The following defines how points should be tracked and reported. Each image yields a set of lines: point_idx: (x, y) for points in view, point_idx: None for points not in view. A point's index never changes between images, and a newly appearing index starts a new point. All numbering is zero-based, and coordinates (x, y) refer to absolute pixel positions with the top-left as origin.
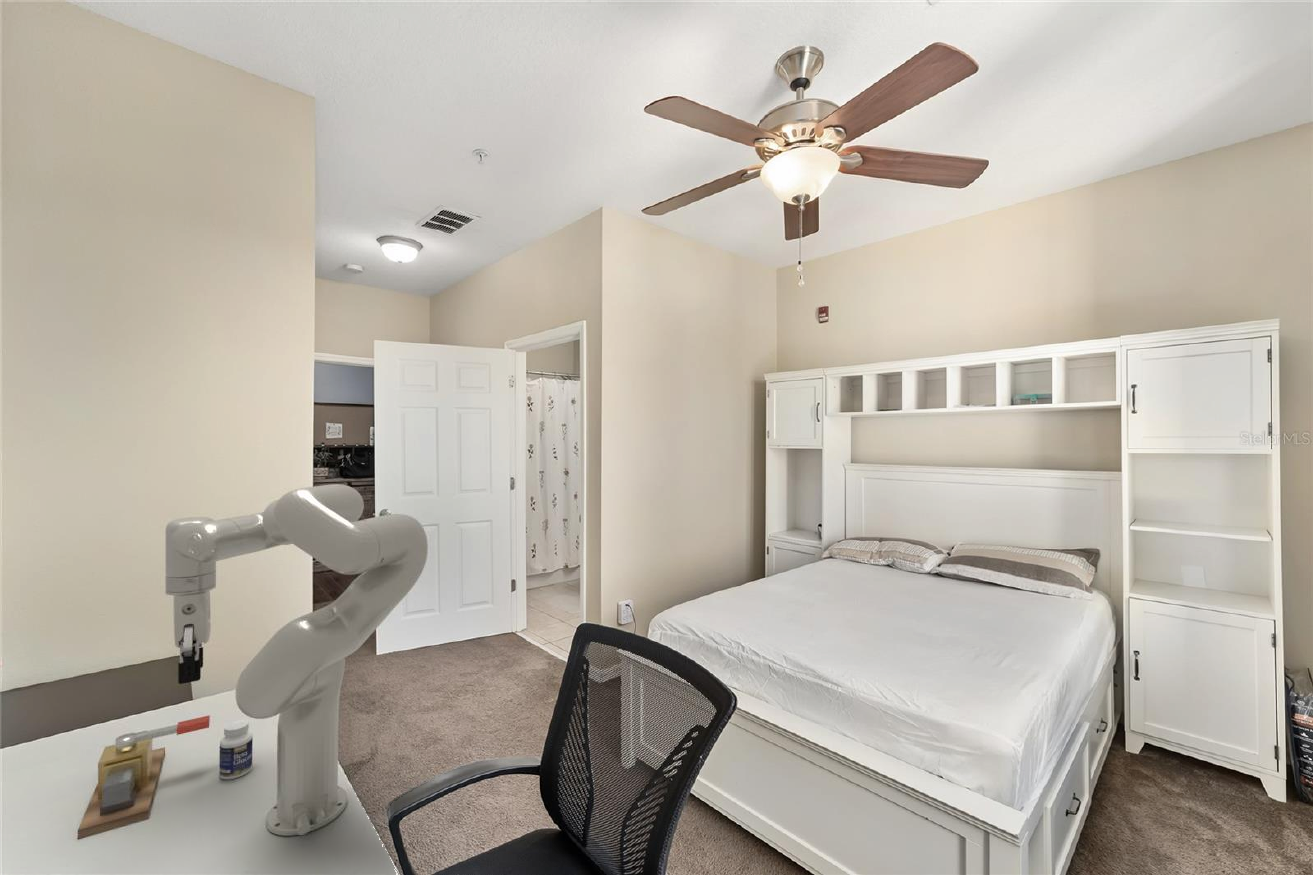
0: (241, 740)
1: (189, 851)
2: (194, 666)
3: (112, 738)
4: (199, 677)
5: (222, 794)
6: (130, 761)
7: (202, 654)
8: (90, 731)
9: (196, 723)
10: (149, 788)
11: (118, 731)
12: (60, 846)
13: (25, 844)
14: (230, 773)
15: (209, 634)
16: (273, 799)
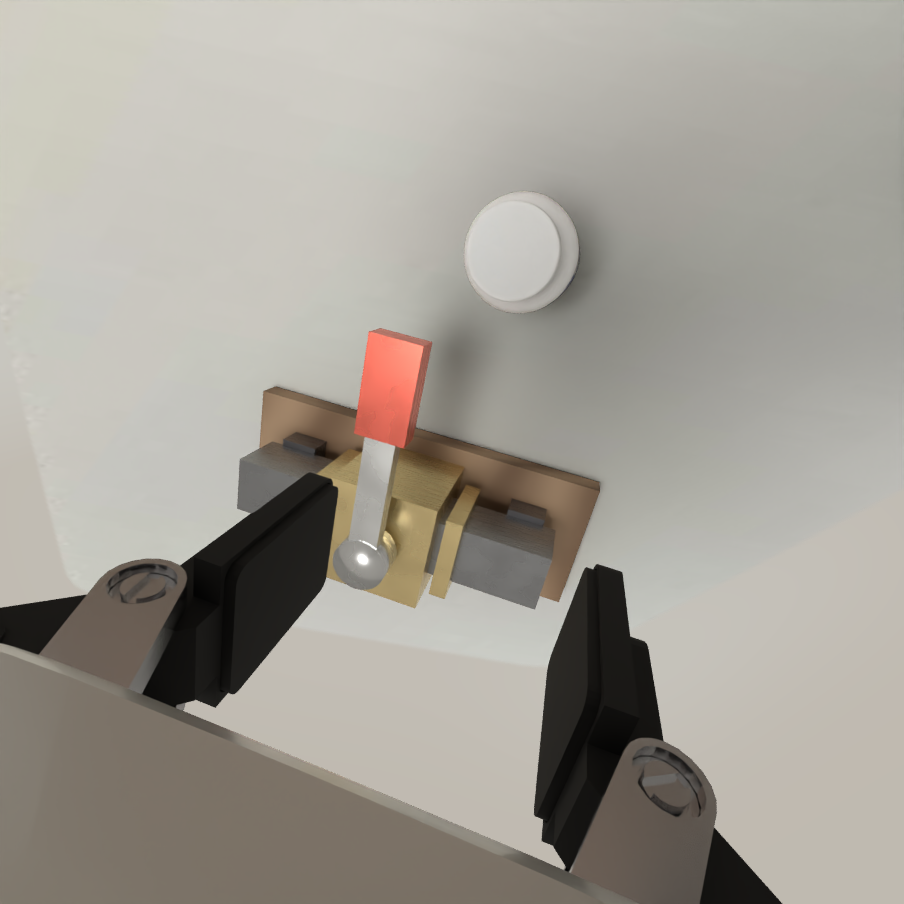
0: (573, 245)
1: (879, 451)
2: (657, 721)
3: (116, 456)
4: (620, 584)
5: (640, 320)
6: (450, 545)
7: (269, 531)
8: (57, 481)
9: (415, 388)
10: (480, 465)
11: (85, 440)
12: (560, 612)
13: (495, 643)
14: (570, 283)
15: (381, 884)
16: (837, 198)
